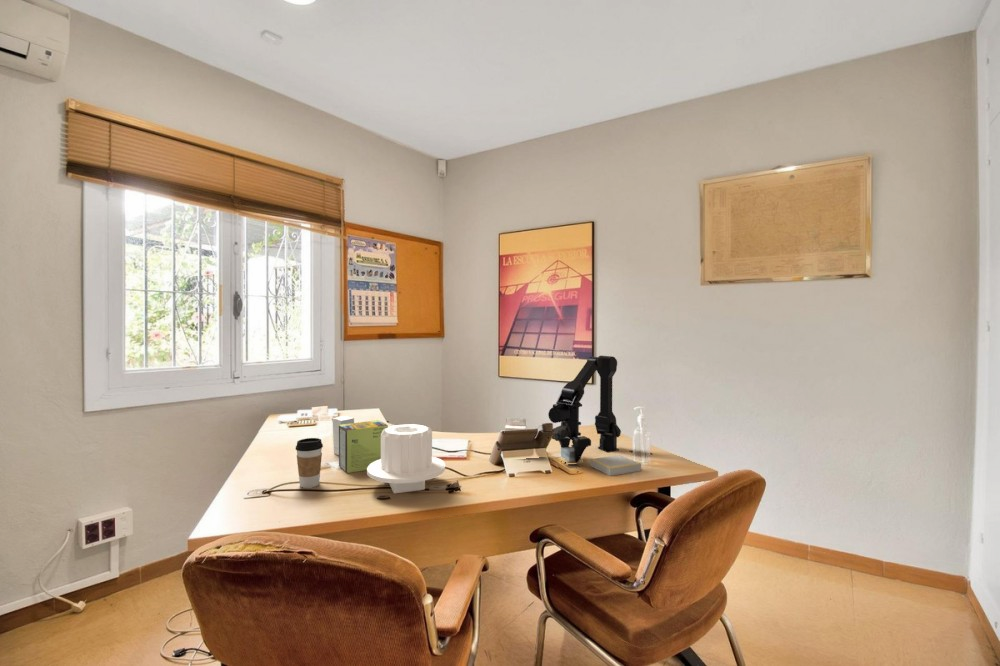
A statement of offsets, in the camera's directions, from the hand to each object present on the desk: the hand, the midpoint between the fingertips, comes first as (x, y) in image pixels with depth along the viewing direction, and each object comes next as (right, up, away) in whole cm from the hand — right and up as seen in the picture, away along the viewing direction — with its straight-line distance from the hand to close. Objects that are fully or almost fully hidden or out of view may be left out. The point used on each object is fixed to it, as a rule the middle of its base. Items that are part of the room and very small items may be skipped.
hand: (570, 459), depth 180 cm
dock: (+15, -1, -7) cm, 17 cm away
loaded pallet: (0, -1, 0) cm, 1 cm away
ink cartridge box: (-21, -1, +8) cm, 23 cm away
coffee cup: (-90, -1, -26) cm, 94 cm away
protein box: (-78, -1, -7) cm, 78 cm away
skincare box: (-90, 0, +8) cm, 90 cm away
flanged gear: (-58, -2, -27) cm, 64 cm away
